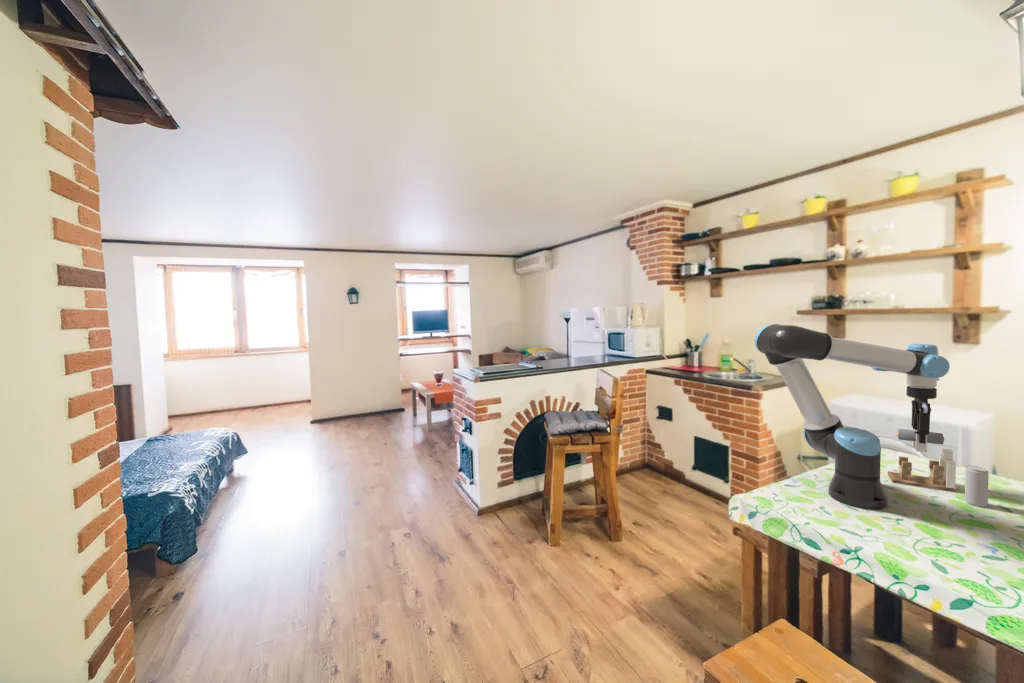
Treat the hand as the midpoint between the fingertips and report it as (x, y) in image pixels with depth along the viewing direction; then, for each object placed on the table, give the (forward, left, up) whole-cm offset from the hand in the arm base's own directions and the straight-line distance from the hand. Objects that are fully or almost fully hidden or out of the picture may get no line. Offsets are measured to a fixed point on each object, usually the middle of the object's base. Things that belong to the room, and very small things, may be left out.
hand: (919, 449), depth 141 cm
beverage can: (+11, -12, -13) cm, 21 cm away
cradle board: (0, 0, -13) cm, 13 cm away
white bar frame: (+7, 0, -11) cm, 13 cm away
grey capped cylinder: (0, 0, +3) cm, 3 cm away
